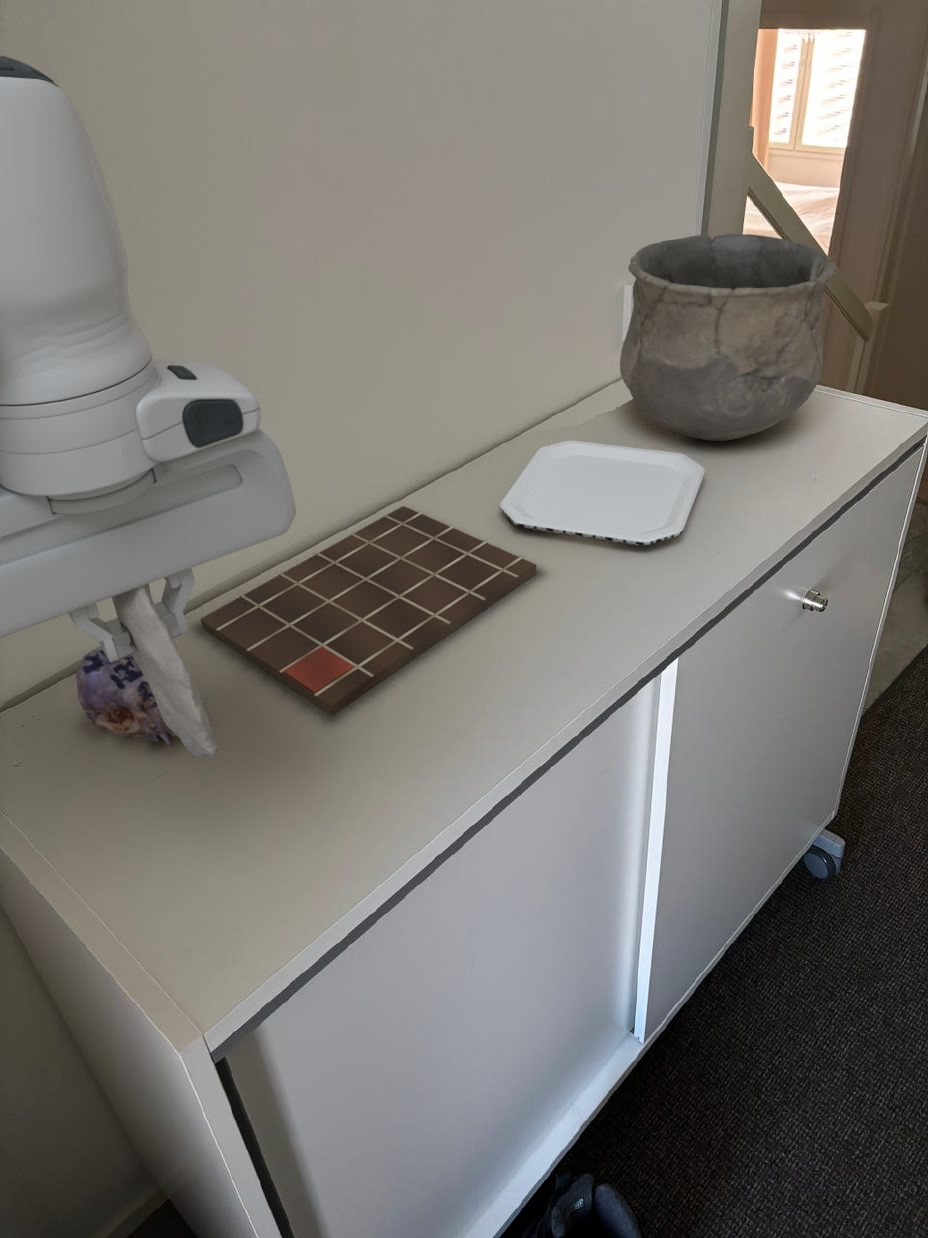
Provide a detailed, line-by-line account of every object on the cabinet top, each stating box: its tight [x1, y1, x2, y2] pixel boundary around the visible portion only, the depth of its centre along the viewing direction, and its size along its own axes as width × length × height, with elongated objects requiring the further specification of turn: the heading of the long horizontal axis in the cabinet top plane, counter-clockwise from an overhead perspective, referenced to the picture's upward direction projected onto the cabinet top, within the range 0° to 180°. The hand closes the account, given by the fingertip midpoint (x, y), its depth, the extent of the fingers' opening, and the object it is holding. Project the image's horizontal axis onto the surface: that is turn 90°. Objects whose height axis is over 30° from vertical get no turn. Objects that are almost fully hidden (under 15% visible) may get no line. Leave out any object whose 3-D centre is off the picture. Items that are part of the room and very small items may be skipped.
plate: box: [499, 440, 706, 546], centre depth 106 cm, size 21×21×2 cm
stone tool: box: [111, 583, 220, 760], centre depth 55 cm, size 9×3×15 cm, turn 44°
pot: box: [619, 233, 838, 442], centre depth 115 cm, size 25×24×21 cm
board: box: [200, 505, 537, 716], centre depth 93 cm, size 28×20×1 cm
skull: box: [75, 646, 177, 745], centre depth 80 cm, size 12×8×6 cm, turn 45°
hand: (146, 642), depth 54 cm, fingers closed on stone tool, 2 cm apart
